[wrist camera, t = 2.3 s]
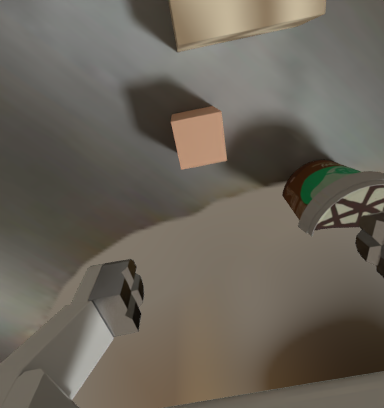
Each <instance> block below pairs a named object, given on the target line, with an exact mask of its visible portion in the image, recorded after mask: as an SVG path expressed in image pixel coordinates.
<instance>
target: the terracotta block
mask: <svg viewBox="0 0 384 408" xmlns="http://www.w3.org/2000/svg"><path fill="white" fill-rule="evenodd" d="M171 125H172V129H173V134H174V138H175V143H176V148H177V152H178V157H179V161H180V166H181V170H182V169H187V168H192V167H197V166H202V165H207V164H212V163H217V162H222V161H227V157H226V148H225V139H224V131H223V122H222V113H221V111H220V110H218V109H217V108H215V107H213V106H210V107H205V108H200V109H195V110H190V111H186V112H181V113H176V114H172V117H171Z"/></svg>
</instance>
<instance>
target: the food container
mask: <svg viewBox="0 0 384 408" xmlns="http://www.w3.org/2000/svg"><path fill="white" fill-rule="evenodd" d="M283 197H284V199H285V200H286V201H287V203H288V204H289V206H290V207H291V209H292V210H293V211H294V213H295V214H296V216H297V217H298V218H299V220H300V221H299V225H298V227H299V228H300V229H302V230H303V231H304V232H305V233H309V234H310V235H311V236H313V233H314V230H319V229H325V228H343V227H344V228H345V227H359V226H358V225H359V221H360V219H361V217H362V216H363V215H368V214H373V213H378V212H384V173H381V172H373V171H369V172H360V171H357V170H355V169H352V168H349V167H347V166H344V165H341V164H338V163H336V162H333V161H329V160H316V161H312V162H309V163H307V164H305V165H303V166H302V167H300V168H299V169H298V170H296V171H295V172H294V173H293V174H292V176H291V177H290V178H289V180H288V181H287V183H286V185H285V187H284V190H283Z"/></svg>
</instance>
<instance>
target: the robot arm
mask: <svg viewBox="0 0 384 408" xmlns="http://www.w3.org/2000/svg"><path fill="white" fill-rule="evenodd" d="M358 226H359V227H360V228H361V229H362V230H361V231H360V233H358V235H357V236H356V242H355V244H356V248H357V251H358V253H359V254H360V256H361V257H362V258H363V259H364V260H365V261H366V262H368V263H371V264H373V265H376V271H377V272H378V273H379V274H380V275H381V276H382V277H383V278H384V212H378V213H373V214H368V215H363V216H362V217H361V219H360V221H359V225H358ZM136 268H137V267H136V264H135V262H134V260H132V259H128V260H123V261H116V262H111V263H105V264H99V265H93V266H90V267H89V268H88V269H87V271H86V273H85V275H84V277H83V279H82V282H81V283H80V286H79V288H78V290H77V292H76V294H75V296H74V298H73V300H72V302H71V304H70V305H66V306H65V307H64V308H62V309H61V310H60V311H59V312H58V313H57V314H56V315H55V316H54V317H52V318H51V319H50V320H49V321H48V322H47V323H45V324H44V325H43V326H42V327H41V328H40V329H39V330H38V331H36V332H35V333H34V334H33V335H32V336H31V337H30V338H29V339H27V340H26V341H25V342H24V343H23V344H22V345H21V346H20V347H18V348H17V349H16V350H15V351H14V352H13V353H12V354H11V355H9V356H8V357H7V358H6V359H5V360H4V361H3V362H2V363H0V408H79V407H78V406H77V405H76V404H75V403H74V402H73V401H72V399H73V398H74V396H75V395H76V393H77V392H78V390H79V389H80V388H81V386H82V385H83V383H84V382H85V380H86V379H87V377H88V376H89V374H90V373H91V371H92V370H93V368H94V367H95V365H96V364H97V362H98V361H99V360H100V358H101V357H102V355H103V354H104V352H105V351H106V349H107V348H108V346H109V345H110V343H111V342H112V340H113V337H116V336H121V335H125V334H130V333H135V332H138V331H139V325H140V319H141V312H140V309H139V306H140V305H141V304H142V303H143V299H144V286H143V282H142V279H141V276H140V275H138V274H136V273H135V272H136ZM165 408H384V371H383V372H377V373H372V374H366V375H359V376H353V377H347V378H341V379H335V380H329V381H323V382H316V383H310V384H304V385H298V386H293V387H286V388H280V389H274V390H268V391H262V392H256V393H250V394H243V395H238V396H232V397H225V398H220V399H213V400H207V401H201V402H195V403H190V404H183V405H177V406H171V407H165Z"/></svg>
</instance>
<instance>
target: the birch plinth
mask: <svg viewBox="0 0 384 408" xmlns="http://www.w3.org/2000/svg"><path fill="white" fill-rule="evenodd" d="M168 3H169V8H170V14H171V19H172V25H173V30H174V36H175V41H176V47H177V52H181V51H186V50H190V49H195V48H199V47H204V46H209V45H213V44H218V43H223V42H227V41H232V40H236V39H241V38H246V37H250V36H255V35H260V34H264V33H269V32H274V31H278V30H283V29H287V28H292V27H297V26H299V25H301V24H304V23H306V22H308V21H310V20H312V19H314V18H317V17H319V16H321V15H323V14H325V7H326V0H168Z"/></svg>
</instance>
